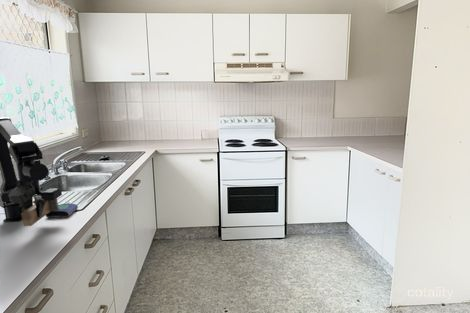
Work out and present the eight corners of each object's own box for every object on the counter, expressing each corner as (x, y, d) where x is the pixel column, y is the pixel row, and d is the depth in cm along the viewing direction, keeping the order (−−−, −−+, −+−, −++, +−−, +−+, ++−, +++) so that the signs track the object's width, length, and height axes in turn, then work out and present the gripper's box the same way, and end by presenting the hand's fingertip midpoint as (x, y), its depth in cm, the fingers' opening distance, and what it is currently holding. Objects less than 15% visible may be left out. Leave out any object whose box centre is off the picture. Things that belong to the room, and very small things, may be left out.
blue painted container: (68, 217, 129) (80, 207, 139) (67, 210, 128) (79, 201, 139) (45, 218, 129) (58, 208, 139) (44, 211, 128) (57, 201, 138)
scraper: (38, 225, 111) (35, 210, 109) (16, 226, 111) (12, 210, 109) (58, 210, 123) (56, 195, 122) (38, 210, 123) (35, 196, 122)
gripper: (-16, 183, 104) (-7, 227, 107) (40, 182, 104) (48, 226, 107) (8, 173, 115) (16, 214, 118) (59, 172, 115) (65, 213, 118)
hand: (35, 217), depth 115 cm, fingers closed on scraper, 2 cm apart
